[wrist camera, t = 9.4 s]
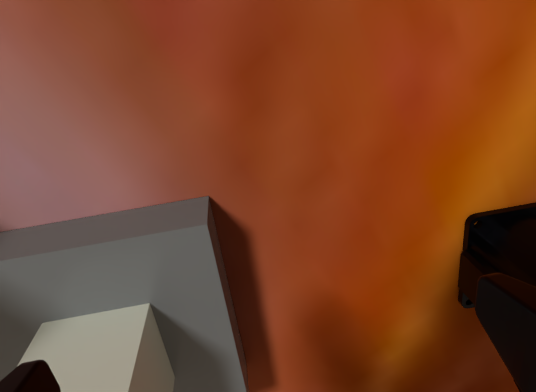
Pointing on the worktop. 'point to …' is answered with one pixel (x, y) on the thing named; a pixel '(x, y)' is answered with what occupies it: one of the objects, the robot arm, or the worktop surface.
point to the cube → (105, 352)
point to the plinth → (128, 286)
